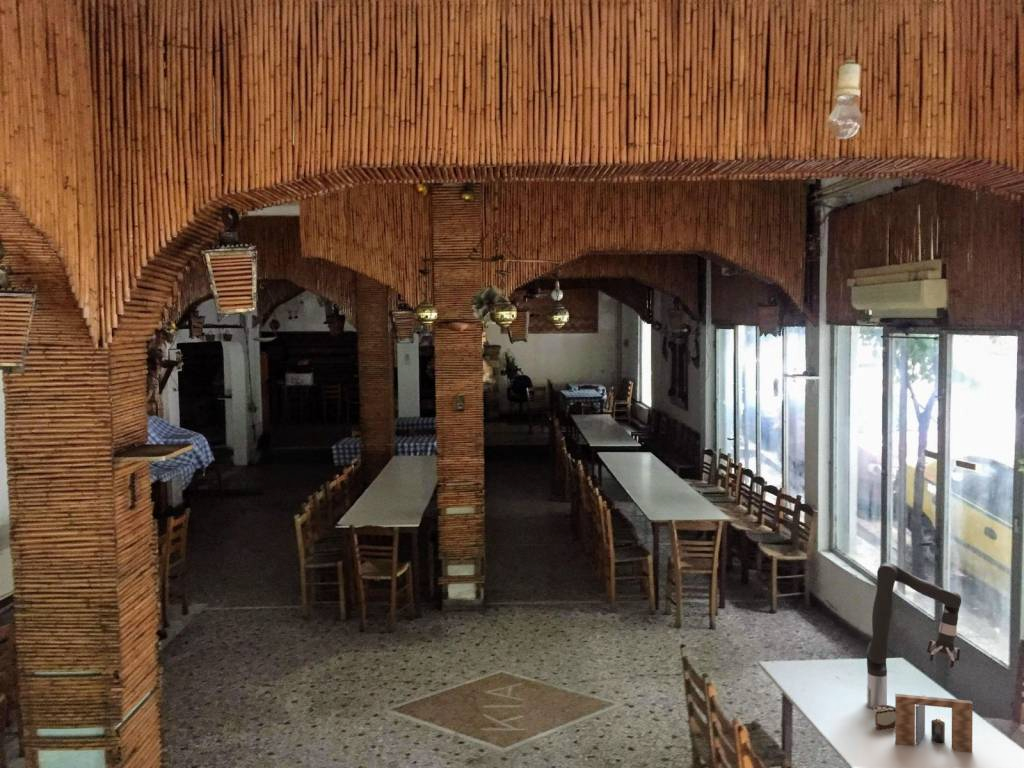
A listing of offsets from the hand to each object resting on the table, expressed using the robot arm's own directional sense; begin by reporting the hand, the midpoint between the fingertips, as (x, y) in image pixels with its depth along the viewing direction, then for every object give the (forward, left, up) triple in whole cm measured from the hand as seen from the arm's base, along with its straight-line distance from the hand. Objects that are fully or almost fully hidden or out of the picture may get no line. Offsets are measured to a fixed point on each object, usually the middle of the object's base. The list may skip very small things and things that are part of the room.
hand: (941, 664), depth 418 cm
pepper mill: (-5, -22, -29) cm, 36 cm away
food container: (-28, -13, -29) cm, 42 cm away
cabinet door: (-13, -21, -28) cm, 38 cm away
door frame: (-8, -29, -29) cm, 41 cm away
